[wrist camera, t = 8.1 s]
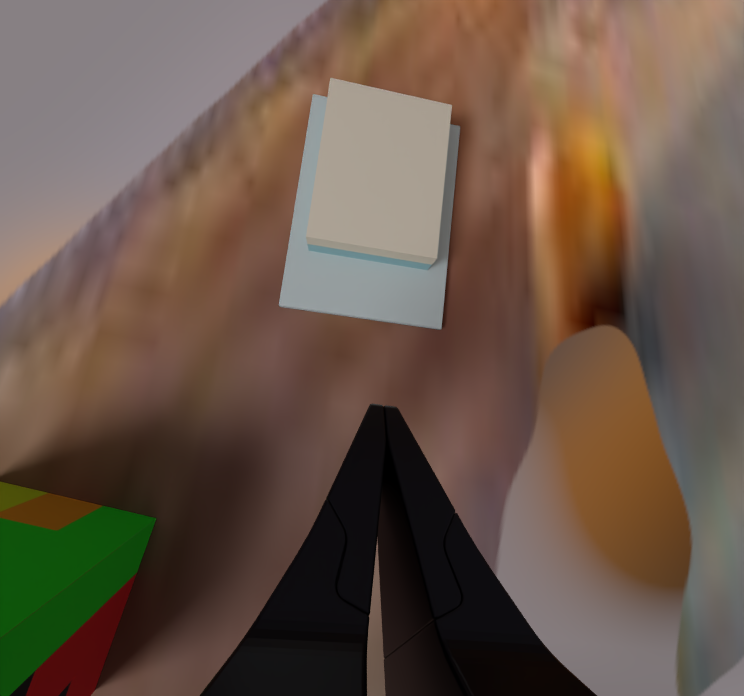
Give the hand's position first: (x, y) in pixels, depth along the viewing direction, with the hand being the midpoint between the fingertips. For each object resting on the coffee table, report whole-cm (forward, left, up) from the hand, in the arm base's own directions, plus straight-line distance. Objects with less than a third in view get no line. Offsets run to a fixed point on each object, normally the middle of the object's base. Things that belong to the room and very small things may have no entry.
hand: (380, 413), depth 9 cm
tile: (+7, -8, -11) cm, 15 cm away
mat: (+9, -11, -13) cm, 19 cm away
